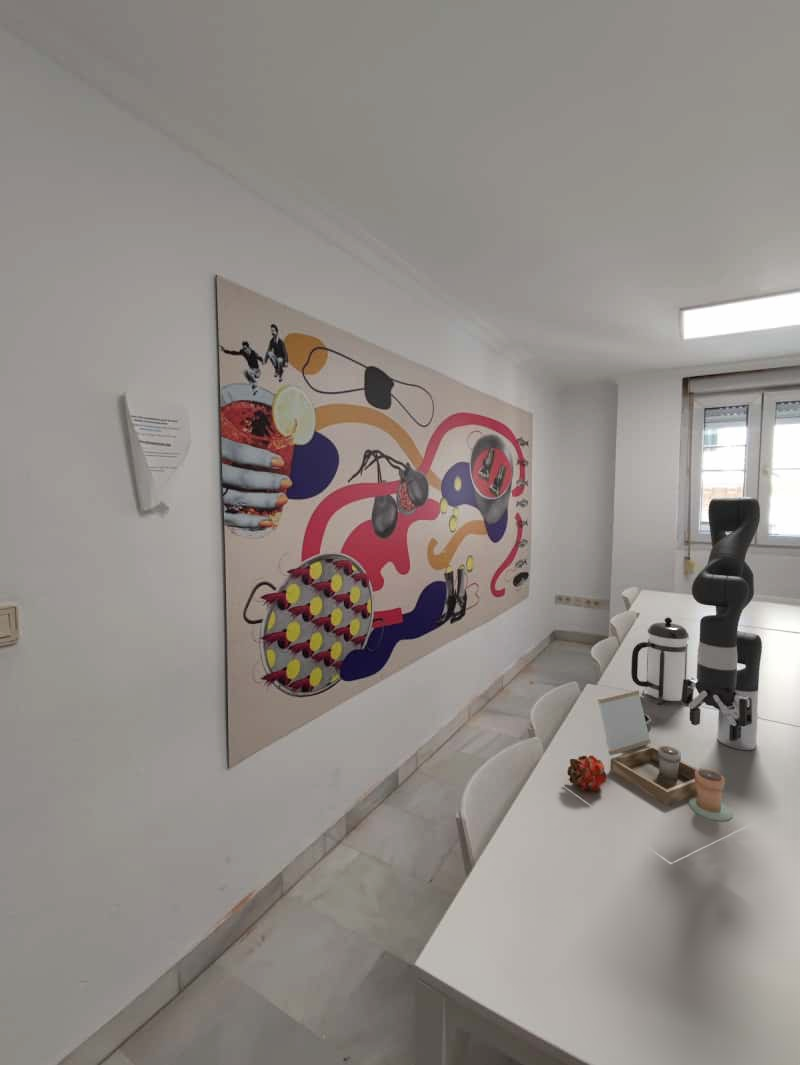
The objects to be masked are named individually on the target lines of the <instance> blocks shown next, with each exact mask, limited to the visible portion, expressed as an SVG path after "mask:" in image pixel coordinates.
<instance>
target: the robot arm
mask: <svg viewBox="0 0 800 1065" xmlns="http://www.w3.org/2000/svg"><path fill="white" fill-rule="evenodd" d="M707 515H708V516H707V517H708V523H709V531H710V532H709V533H710V538H711V546H712V547H711V550H710V552H709V553H710V554H709V557H708V559H707V560H708V561H707V564H705V567H704V568H703V569H702V570H701V571H699V573H698V574H697V575H696V577H695V578H694V580H693V582H692V586H691V595H692V597H693V599H694V600H695V601H696V602H697V603H698V604H700V605H705V606H712V607H715V614H711V615H704V616H702V618H701V619H700V623H699V642H698V648H697V656H696V657H697V660H696V663H697V664H696V680H695V679H694V678H693V677H689V678H687V677H686V679H684V680H683V688H682V698H681V701H680V702H681V703H682V702H683V703H686V704H687V705H686V706H688V709H689V721H690V723H691V725H693V726H697V725H700V723H701V708H700V706H701V705H703V704H705V705H706V706H709V707H713V708H715V709H717V710H718V715H717V716H718V717H717V718H718V719H717V738H716V739H717V740H718V741H719V742H720V743H721V744H723V745H725V746H727V747H730V748H732V749H736V750H742V751H752V750H755V749H756V744H757V733H758V717H759V716H758V715H759V714H758V706H759V705H758V703H759V702H758V701H759V681H760V680H759V679H760V668H761V667H760V666H761V659H762V652H763V642H762V639H761V637H760V635H758V634H756V633H750V632H745V631H740V630H739V631H738V628H739V622H740V619H741V615H742V613H743V611H744V609H745V608H747V607H748V605H749V604H750V603H751V601H752V600H753V598H754V594H755V585H754V584H755V581H754V580H755V578H754V572H753V570H752V569H751V567H750V566H749V565H748V564H747V562H746V556H747V552H748V550H749V547H750V545H751V543H752V541H753V539H754V538H755V534H756V533H757V530H758V528H759V525H760V519H761V507H760V503H759V501H758V500H757V499H756V498H755V497H753V496H731V497H729V496H728V497H727V496H725V497H724V496H723V497H714V498H712V499H711V501H710V502H709V505H708V514H707ZM727 532H728V533H729V534H726V533H727ZM738 664H739V665H745V667H744V668H741V669H738ZM695 689H696V691H697V692H698V695H697V696H696V697H694V690H695ZM683 703H682V704H683Z"/></svg>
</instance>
